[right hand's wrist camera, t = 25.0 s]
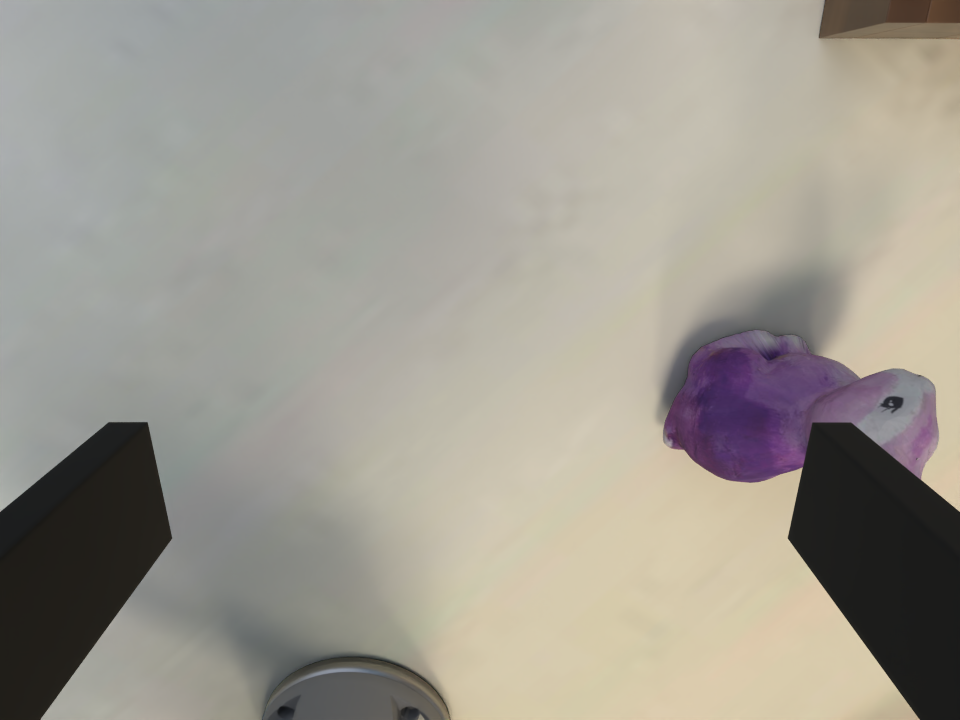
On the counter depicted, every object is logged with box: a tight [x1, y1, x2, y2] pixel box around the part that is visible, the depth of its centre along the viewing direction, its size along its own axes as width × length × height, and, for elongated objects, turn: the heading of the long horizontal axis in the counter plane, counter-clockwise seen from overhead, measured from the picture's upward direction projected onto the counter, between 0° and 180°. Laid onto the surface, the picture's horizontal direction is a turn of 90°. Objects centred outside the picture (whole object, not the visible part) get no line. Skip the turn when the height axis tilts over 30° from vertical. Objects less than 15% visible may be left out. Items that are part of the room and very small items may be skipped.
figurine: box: [663, 330, 939, 483], centre depth 34 cm, size 9×10×15 cm
